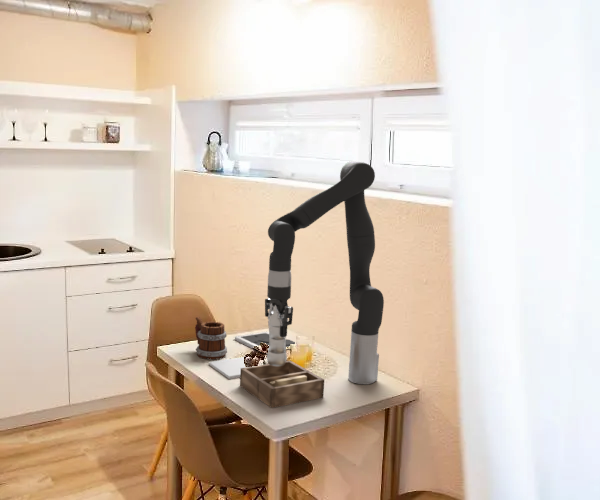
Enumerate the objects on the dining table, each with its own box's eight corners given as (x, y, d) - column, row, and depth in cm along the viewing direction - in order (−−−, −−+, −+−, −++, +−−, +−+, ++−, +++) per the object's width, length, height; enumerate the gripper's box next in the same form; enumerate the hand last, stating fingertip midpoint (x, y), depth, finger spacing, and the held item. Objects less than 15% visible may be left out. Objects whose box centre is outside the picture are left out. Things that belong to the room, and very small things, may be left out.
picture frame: (296, 349, 256) (266, 336, 273) (296, 342, 256) (266, 329, 272) (263, 355, 247) (234, 341, 263) (263, 348, 246) (234, 334, 263)
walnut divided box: (289, 377, 223) (290, 360, 222) (323, 397, 206) (324, 379, 205) (239, 385, 213) (240, 368, 212) (271, 408, 196) (272, 389, 195)
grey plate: (248, 358, 240) (248, 356, 240) (270, 372, 227) (270, 369, 227) (208, 364, 231) (208, 362, 231) (229, 379, 218) (229, 376, 218)
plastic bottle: (275, 370, 207) (277, 309, 204) (262, 364, 212) (264, 304, 209) (290, 366, 211) (293, 306, 208) (277, 360, 216) (279, 302, 213)
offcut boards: (304, 391, 211) (305, 372, 210) (312, 397, 207) (313, 377, 206) (267, 398, 203) (268, 379, 202) (275, 404, 199) (276, 384, 198)
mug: (211, 362, 233) (208, 321, 233) (186, 359, 243) (183, 319, 242) (235, 355, 242) (231, 315, 242) (210, 352, 252) (207, 314, 251)
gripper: (301, 287, 204) (299, 338, 206) (277, 278, 215) (276, 326, 218) (281, 289, 199) (279, 341, 202) (258, 280, 211) (256, 329, 214)
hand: (277, 333), depth 210 cm, fingers closed on plastic bottle, 6 cm apart
